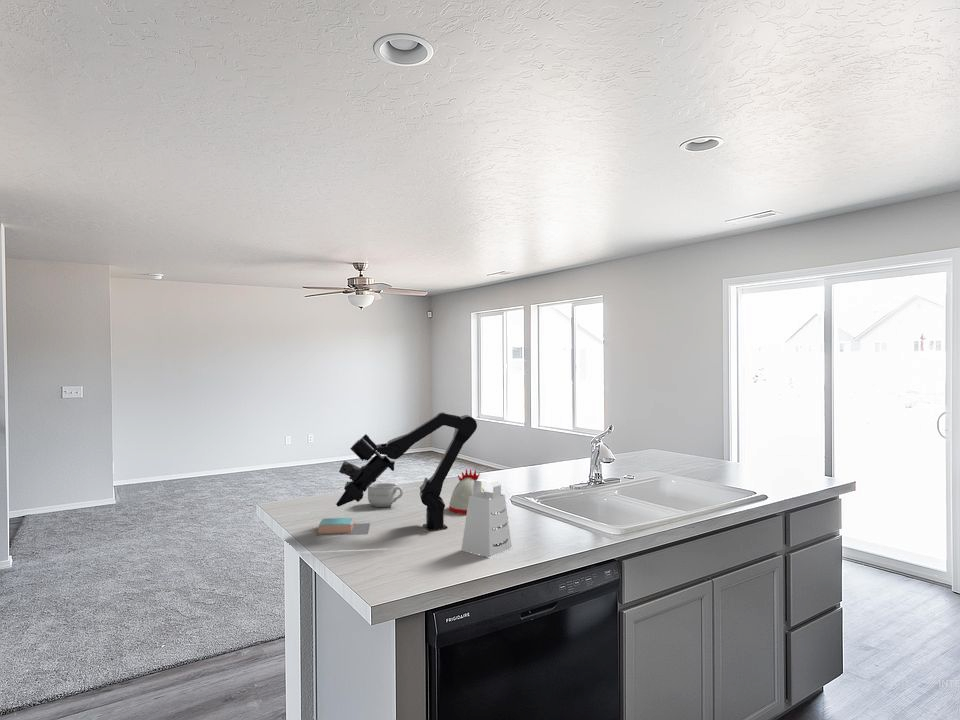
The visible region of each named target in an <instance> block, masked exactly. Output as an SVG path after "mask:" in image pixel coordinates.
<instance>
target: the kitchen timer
mask: <svg viewBox="0 0 960 720" xmlns="http://www.w3.org/2000/svg"><path fill="white" fill-rule="evenodd" d="M480 474H481V473H480V472H478V474H477V469H475V470H474V472H472V469H471V468H470V469H469V473H468V469H467V468H465V474H464V472H463V471H461V475H462V477H460V475H459V474H458V475H457V477H458V480H459V481H458V482H457V484H456V485H455V487H454V489H453V491H452V493H451V497H450V501H449V511H450V512H451V513H453V512H454V513H453V514H457V513H458V514H457V515H467V508H468V501H469V496H470V495H473V483H474V482H475V481H476V480H479V477H480ZM481 492H485V489H484V488H483V487H482V486H481Z"/></svg>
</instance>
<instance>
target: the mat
mask: <svg viewBox="0 0 960 720" xmlns="http://www.w3.org/2000/svg"><path fill="white" fill-rule="evenodd" d="M370 527H371V523H370V522H369V523H365V522H364V523H353V528H352V531H351V533H327V534H318V531H317V532H316V534H315V537H321V536H345V535H346V536H353V535H354V536H355V535H356V536H357V535H359V536H360V535H368V534H369V532H370V531H369V530H370Z"/></svg>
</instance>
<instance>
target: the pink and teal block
mask: <svg viewBox="0 0 960 720" xmlns="http://www.w3.org/2000/svg"><path fill="white" fill-rule="evenodd" d="M353 524H354V517H332V518H329V517H328V518H322V519H321V520H320V522H319V525H318V530H317V532H318V534H327V533H351V531H352V528H353Z"/></svg>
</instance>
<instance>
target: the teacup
mask: <svg viewBox="0 0 960 720" xmlns="http://www.w3.org/2000/svg"><path fill="white" fill-rule="evenodd" d="M397 490H399V491H400V493H399V495H398V496H397ZM403 495H404V488H402V487H401V486H397V484H396V483H390V482H389V483H388V482H379V483H372V484H371V485H370V486H369V487H368V488H367V499H368V503H369V504H371V505H372V507H376V508H386V507H391V506H392V505H393V504H394V503H396V502H397V500H399V499H401V498H402V496H403Z"/></svg>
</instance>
